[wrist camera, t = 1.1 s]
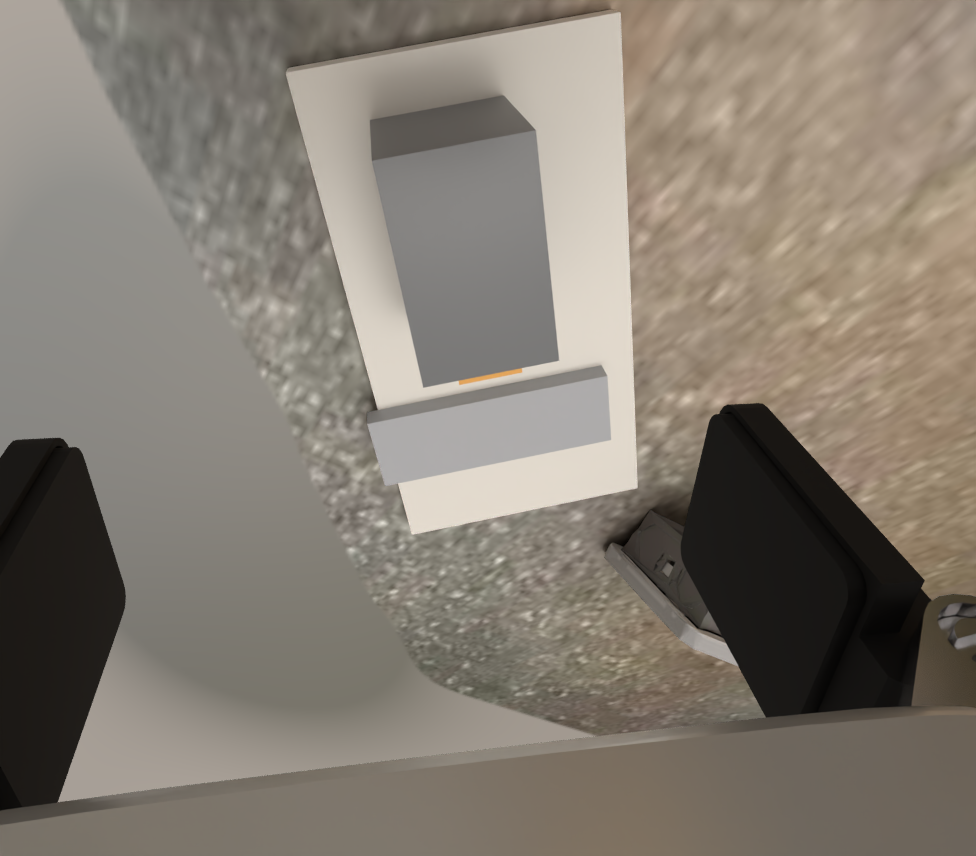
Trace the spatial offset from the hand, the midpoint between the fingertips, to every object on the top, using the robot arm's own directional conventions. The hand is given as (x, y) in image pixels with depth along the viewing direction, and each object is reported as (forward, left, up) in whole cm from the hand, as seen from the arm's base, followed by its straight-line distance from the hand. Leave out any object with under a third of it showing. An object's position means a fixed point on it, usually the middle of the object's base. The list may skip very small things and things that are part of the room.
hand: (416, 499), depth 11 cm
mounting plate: (-3, +7, -21) cm, 23 cm away
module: (-2, +2, -20) cm, 20 cm away
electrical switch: (-12, +24, -22) cm, 35 cm away
